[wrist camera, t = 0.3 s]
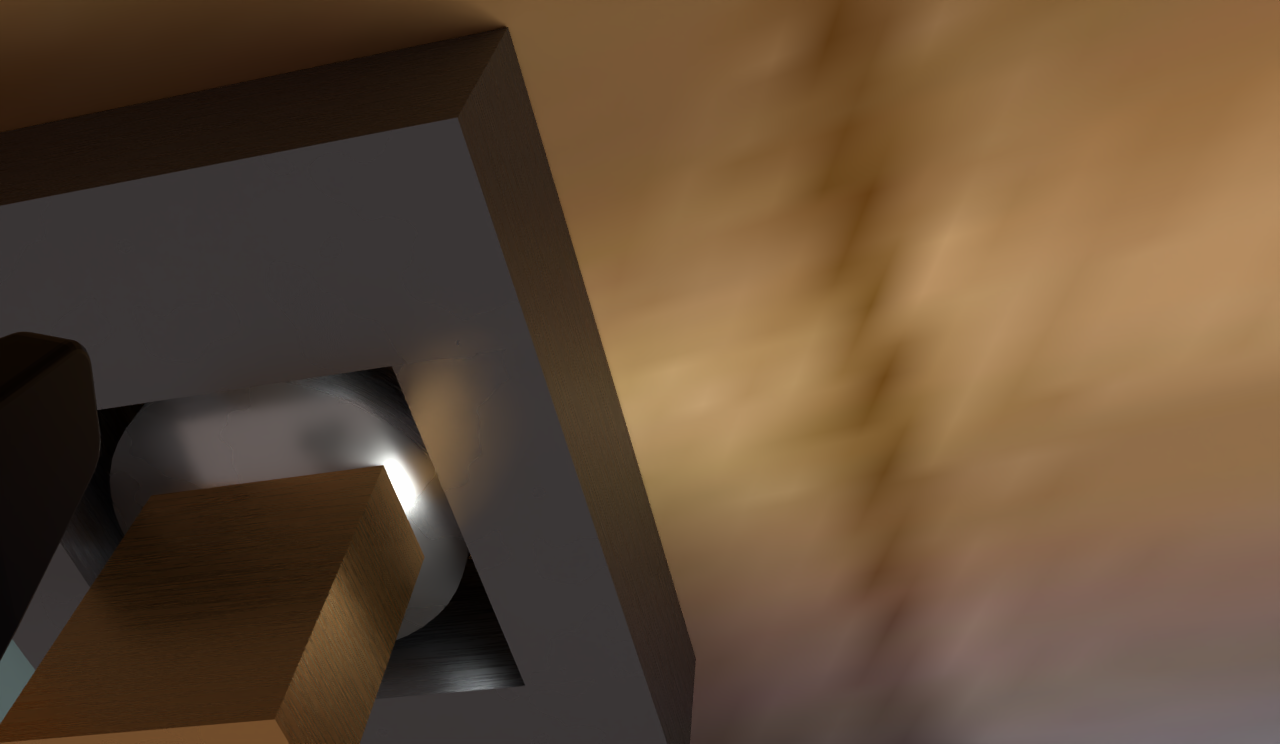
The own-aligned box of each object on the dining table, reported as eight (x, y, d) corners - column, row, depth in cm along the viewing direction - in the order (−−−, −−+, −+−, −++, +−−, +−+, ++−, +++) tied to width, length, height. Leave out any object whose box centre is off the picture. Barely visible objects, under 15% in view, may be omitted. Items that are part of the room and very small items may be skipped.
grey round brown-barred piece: (534, 537, 27) (446, 900, 20) (252, 569, 29) (73, 919, 21) (434, 270, 23) (279, 597, 16) (115, 322, 25) (-162, 644, 18)
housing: (695, 658, 29) (685, 799, 26) (220, 701, 32) (156, 833, 28) (507, 27, 20) (457, 117, 17) (-122, 158, 23) (-271, 258, 20)
